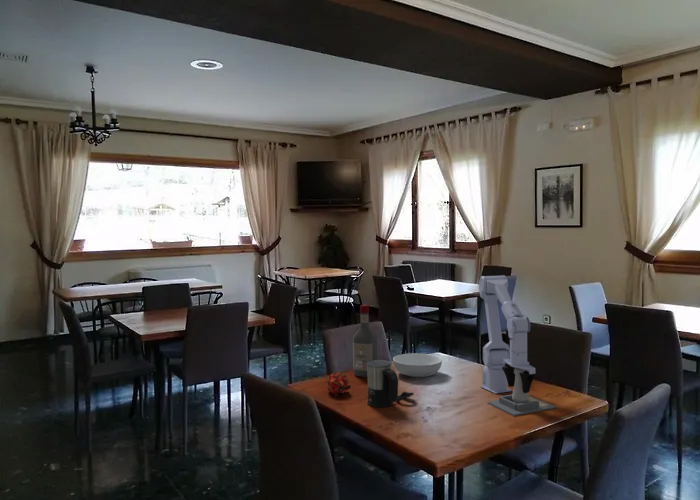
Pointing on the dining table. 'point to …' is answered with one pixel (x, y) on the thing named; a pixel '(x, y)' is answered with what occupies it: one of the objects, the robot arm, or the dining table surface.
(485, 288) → the robot arm
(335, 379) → the dragon fruit
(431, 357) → the serving bowl
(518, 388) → the salt shaker
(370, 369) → the milk frother
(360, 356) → the liquor
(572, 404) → the dining table surface
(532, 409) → the stand
